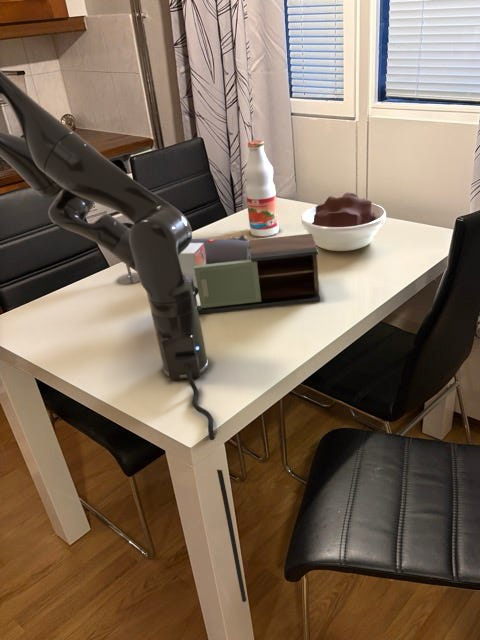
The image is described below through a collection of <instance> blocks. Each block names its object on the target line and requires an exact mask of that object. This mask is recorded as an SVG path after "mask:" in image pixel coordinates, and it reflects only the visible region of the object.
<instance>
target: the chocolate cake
mask: <svg viewBox="0 0 480 640" xmlns="http://www.w3.org/2000/svg"><path fill="white" fill-rule="evenodd" d="M386 219H387V212H386V210H385V208H383V207H382V206H381V205H378V204H375V203H373V202H372V201H371V200H369V199H366V198H360V197H359V196H358V195H357V194H355V193H353V192H346V193H344V194H343V195H342V196H339V197H335V196H332V195H329V196H328V197H327V198H326V200H325V202H324V203H323V204H322V203H321V204H317V205H315V206H312V207H310V208H308V209H307V210H305V211H304V212H303V213H302V214H301V216H300V224H301V225H302V227H303V229H304V230H305V231H306V233H307V234H312V236H313V239H314V242H315V245H316V246H318V247H319V248H321V249H324V250H328V251H332V252H333V251H335V252H347V251H354V250H359V249H362V248H364V247H366V246H368V245H370V244H371V243H372V242H373V241H374V239H375V237H376V234H377V233H378V231H379V230H380V229H381V228H382V227H383V225H385V221H386Z"/></svg>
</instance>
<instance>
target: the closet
mask: <svg viewBox="0 0 480 640" xmlns="http://www.w3.org/2000/svg"><path fill="white" fill-rule="evenodd" d="M248 241H249V243H250V254H258V253H268V252H277V251H287V250H296V249H306V248H315V247H316V248H317V245H316V244H315V242H314V239H313V236H312V234H309V233H304V234H303V233H302V234H294V235H293V234H292V235H285V236H276V237H267V238H266V237H265V238H256V239H249V240H248ZM317 249H318V248H317ZM257 267H258V276H259V285H260V294H261V299H268V298H277V297H287V296H296V295H305V294H314V293H319V294H320V289H319V270H318V269H319V268H318V254H317V255H308V256H298V257H289V258H280V259H270V260H261V261H257Z"/></svg>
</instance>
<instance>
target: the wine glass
mask: <svg viewBox="0 0 480 640" xmlns="http://www.w3.org/2000/svg"><path fill="white" fill-rule="evenodd" d="M121 223H122V224H123V225H125V226H126V227H128V228H129V229H131V227H132V225H133V224H134V223H131V222H121ZM125 267H126V270H127V274H125V275H123V276H121V277H120V278H119V279H118V283H119V284H121V285H122V284H123V285H131V284H136V283H138V282H140V280H139V277H138V274H137V273H132V271H131V267H129V266H128V265H126V264H125Z"/></svg>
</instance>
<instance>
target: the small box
mask: <svg viewBox="0 0 480 640" xmlns="http://www.w3.org/2000/svg"><path fill="white" fill-rule="evenodd" d="M178 257H179V262H180V266H181V270H182V272H184V273H187V274H189V275H190V276H191V277H192V279H193V282H194V286H195V287H197V282H196V276H195V271H194V266H195V265H205V264H207V261H206V254H205V248H204V243H190V244H189V245H188V247H187V248H186V249H185V250H184V251H182V252H181V253H180V254H179V255H178Z"/></svg>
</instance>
